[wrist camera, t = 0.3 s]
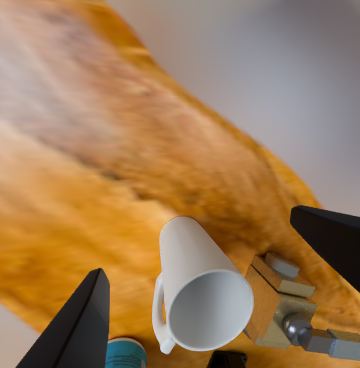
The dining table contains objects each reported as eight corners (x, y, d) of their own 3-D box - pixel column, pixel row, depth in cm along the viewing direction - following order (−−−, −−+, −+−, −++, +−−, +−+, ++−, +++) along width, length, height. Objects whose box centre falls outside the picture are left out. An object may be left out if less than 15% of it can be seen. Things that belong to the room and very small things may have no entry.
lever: (341, 343, 23) (362, 363, 21) (277, 334, 21) (294, 356, 19) (351, 323, 23) (373, 341, 21) (287, 311, 21) (305, 331, 18)
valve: (259, 319, 29) (290, 364, 23) (229, 314, 28) (253, 360, 21) (286, 256, 28) (327, 284, 22) (257, 247, 27) (291, 275, 20)
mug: (178, 204, 23) (208, 251, 12) (213, 231, 25) (270, 296, 13) (132, 261, 23) (116, 366, 12) (170, 284, 25) (189, 396, 13)
